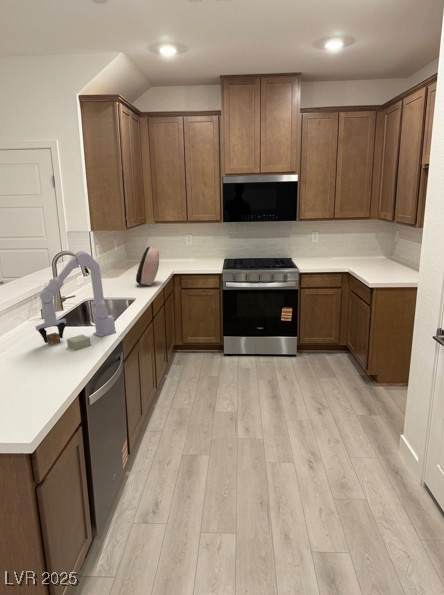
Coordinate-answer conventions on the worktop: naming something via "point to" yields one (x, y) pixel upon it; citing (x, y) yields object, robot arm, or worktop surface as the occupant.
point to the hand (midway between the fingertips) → (53, 340)
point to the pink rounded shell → (148, 266)
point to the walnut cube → (53, 338)
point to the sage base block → (78, 342)
